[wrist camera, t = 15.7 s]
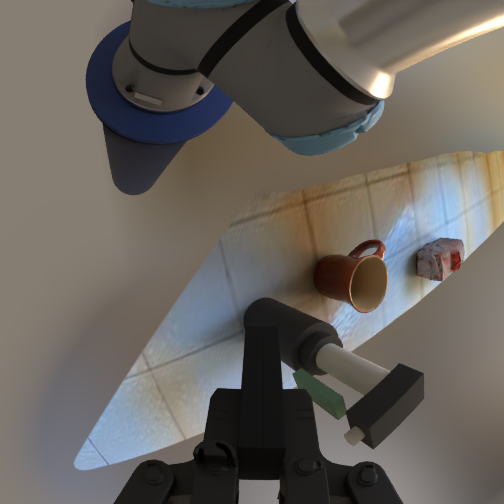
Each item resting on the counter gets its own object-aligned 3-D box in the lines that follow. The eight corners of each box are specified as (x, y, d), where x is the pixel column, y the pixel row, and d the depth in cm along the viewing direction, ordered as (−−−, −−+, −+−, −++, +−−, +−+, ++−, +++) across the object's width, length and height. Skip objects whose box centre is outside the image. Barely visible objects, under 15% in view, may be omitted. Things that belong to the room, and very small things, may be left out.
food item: (414, 281, 63) (448, 288, 54) (410, 250, 61) (446, 253, 52) (440, 260, 68) (471, 264, 59) (437, 232, 66) (469, 233, 57)
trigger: (298, 390, 30) (338, 420, 24) (291, 373, 29) (332, 404, 23) (307, 384, 30) (347, 412, 24) (300, 367, 30) (342, 396, 24)
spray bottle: (239, 356, 45) (365, 467, 19) (221, 320, 43) (354, 426, 18) (288, 325, 48) (433, 398, 23) (274, 289, 47) (432, 348, 21)
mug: (330, 308, 52) (371, 322, 43) (298, 283, 49) (339, 295, 39) (360, 252, 54) (402, 257, 45) (333, 224, 51) (376, 225, 41)
